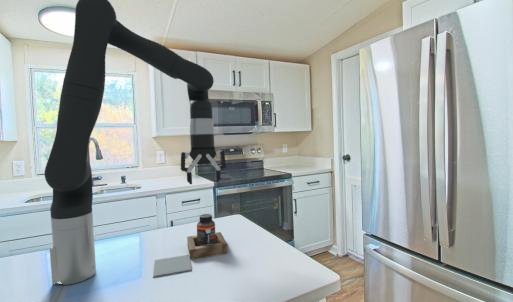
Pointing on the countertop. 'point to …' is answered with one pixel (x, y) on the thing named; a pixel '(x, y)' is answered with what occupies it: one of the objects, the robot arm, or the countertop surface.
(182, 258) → the mat
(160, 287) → the countertop surface
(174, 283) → the countertop surface
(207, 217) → the supplement bottle
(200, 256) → the socket collar
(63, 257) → the robot arm
